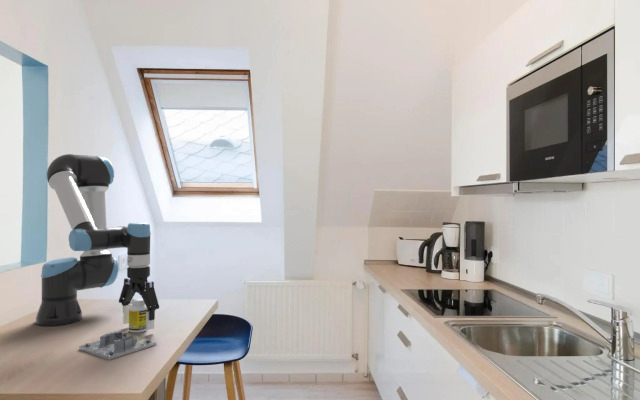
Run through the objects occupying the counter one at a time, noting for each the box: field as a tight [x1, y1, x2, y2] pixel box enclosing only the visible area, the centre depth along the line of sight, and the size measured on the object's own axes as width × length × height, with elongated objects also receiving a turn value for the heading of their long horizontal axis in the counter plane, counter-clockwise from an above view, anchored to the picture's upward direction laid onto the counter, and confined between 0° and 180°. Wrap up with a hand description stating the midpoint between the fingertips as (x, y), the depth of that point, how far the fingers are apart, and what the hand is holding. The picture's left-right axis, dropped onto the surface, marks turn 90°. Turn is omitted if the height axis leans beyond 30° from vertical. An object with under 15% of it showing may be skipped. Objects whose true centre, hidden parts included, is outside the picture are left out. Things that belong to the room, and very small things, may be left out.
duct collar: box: [78, 330, 157, 361], centre depth 137 cm, size 16×16×4 cm
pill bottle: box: [128, 297, 148, 334], centre depth 154 cm, size 6×6×11 cm
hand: (138, 326), depth 154 cm, fingers open, 12 cm apart
